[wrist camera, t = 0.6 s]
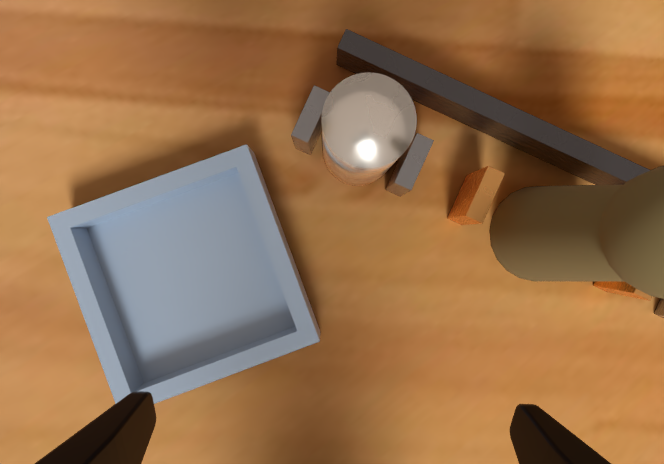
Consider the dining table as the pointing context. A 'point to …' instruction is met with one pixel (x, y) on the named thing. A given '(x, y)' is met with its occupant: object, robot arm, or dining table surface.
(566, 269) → the olive knobbed post
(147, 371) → the tray
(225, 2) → the dining table surface
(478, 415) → the dining table surface
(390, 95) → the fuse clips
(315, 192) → the dining table surface
